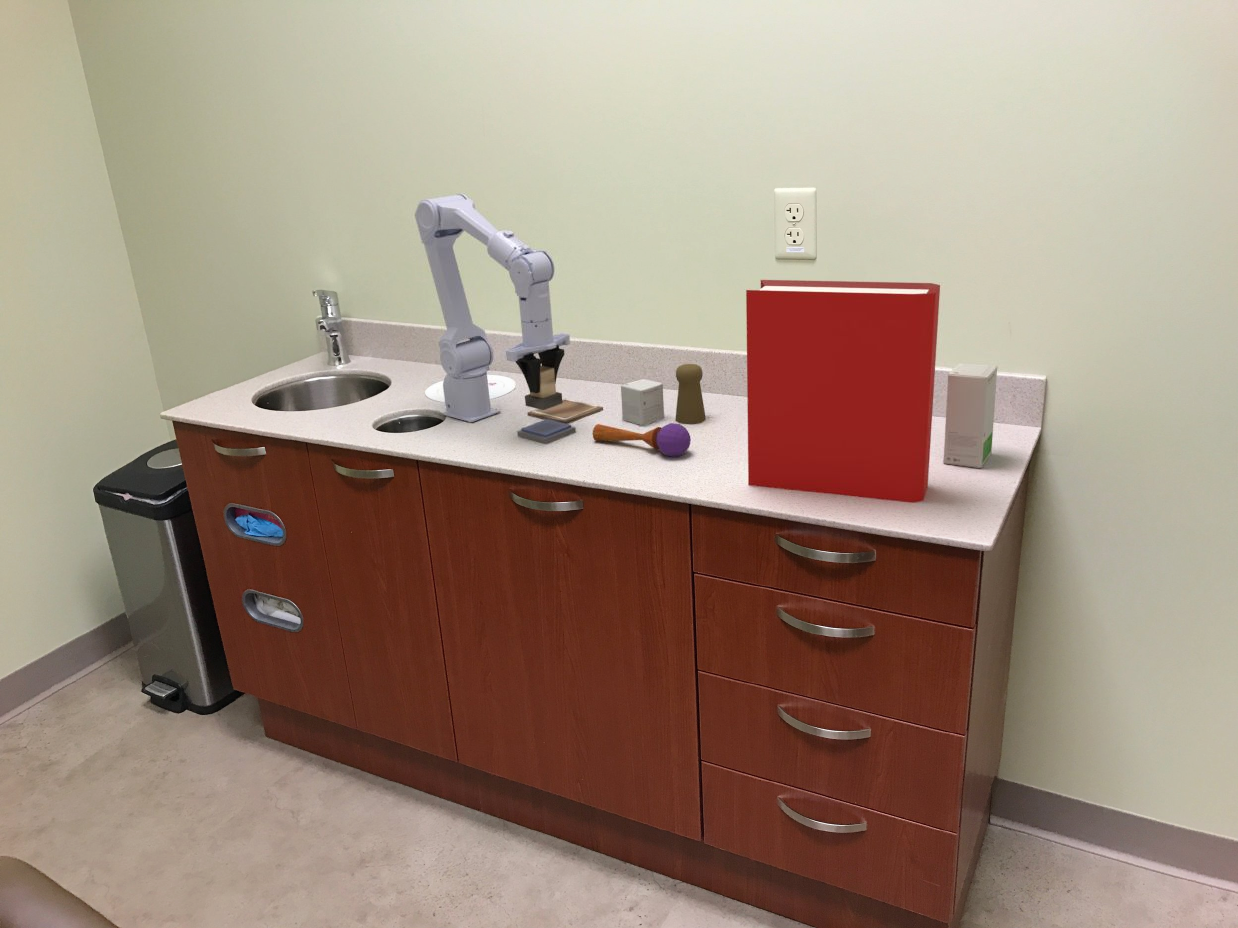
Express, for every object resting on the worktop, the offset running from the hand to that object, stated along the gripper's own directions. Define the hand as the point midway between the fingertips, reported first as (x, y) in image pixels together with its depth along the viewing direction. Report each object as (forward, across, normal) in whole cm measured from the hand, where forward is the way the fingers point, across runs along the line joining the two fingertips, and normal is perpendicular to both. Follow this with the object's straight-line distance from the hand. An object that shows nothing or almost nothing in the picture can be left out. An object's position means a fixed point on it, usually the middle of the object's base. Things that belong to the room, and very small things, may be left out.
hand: (542, 389), depth 183 cm
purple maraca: (+9, +4, -21) cm, 23 cm away
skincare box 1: (+9, +17, -10) cm, 22 cm away
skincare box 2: (+9, +31, -70) cm, 77 cm away
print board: (+9, +12, +6) cm, 16 cm away
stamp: (+3, 0, 0) cm, 3 cm away
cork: (+9, +22, -18) cm, 30 cm away
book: (+9, +9, -58) cm, 60 cm away
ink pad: (+9, 0, 0) cm, 9 cm away
